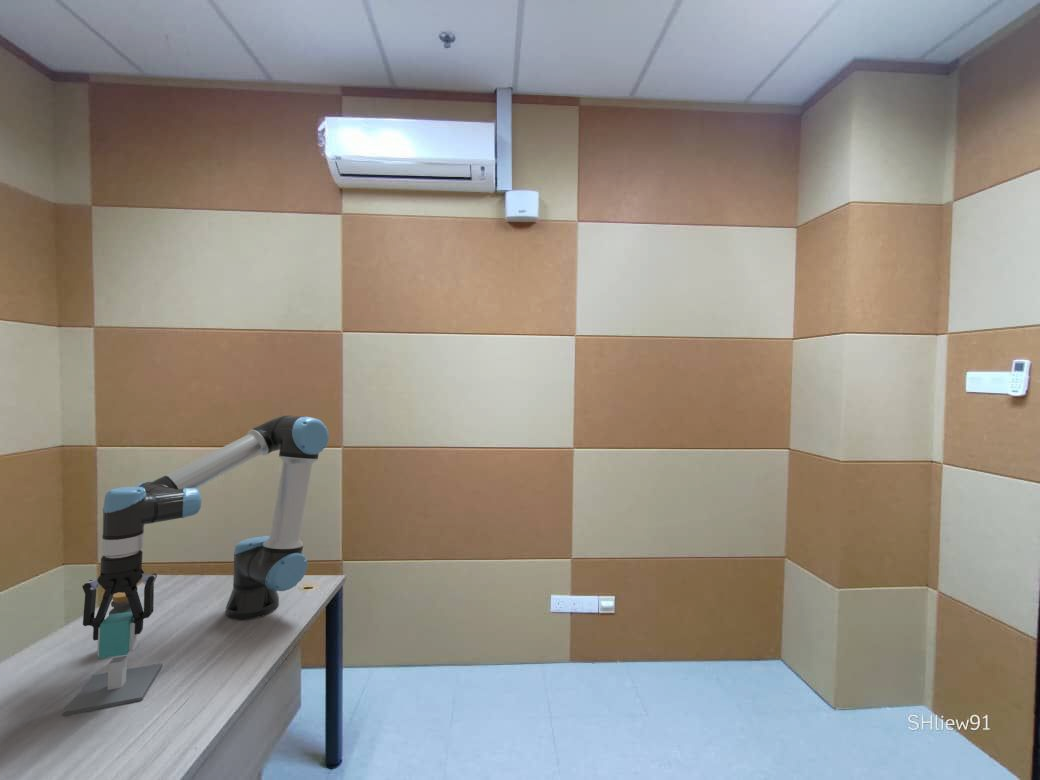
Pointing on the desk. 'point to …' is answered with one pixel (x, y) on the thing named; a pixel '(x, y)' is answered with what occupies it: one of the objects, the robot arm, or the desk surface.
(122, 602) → the bottle
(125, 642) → the teal rectangular block
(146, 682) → the stand
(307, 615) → the desk surface
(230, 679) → the desk surface
